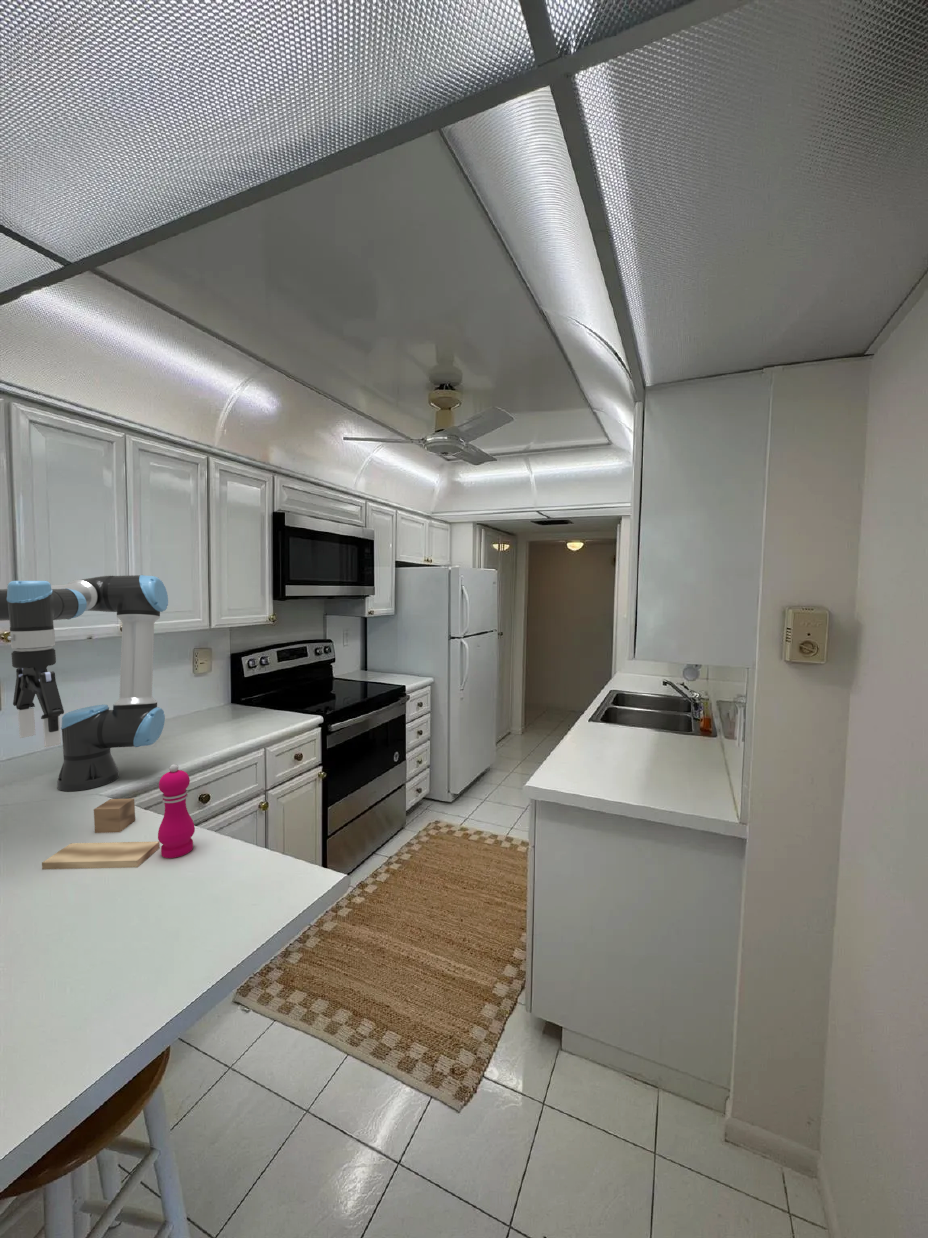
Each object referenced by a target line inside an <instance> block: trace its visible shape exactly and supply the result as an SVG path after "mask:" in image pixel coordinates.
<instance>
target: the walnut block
mask: <svg viewBox="0 0 928 1238" xmlns="http://www.w3.org/2000/svg"><path fill="white" fill-rule="evenodd" d="M135 806H136V805H135V798H134V797H133V798H109V799H108V800H106V801H105V802H103V803H101V804H99V805H98V806H97V807H95V808H94V809H93V821H94V822H93V823H94V833H95V834H102V833H103V834H104V833H105V834H108V833H110V834H111V833H122V832H123V831H124V830H125V829H126V828H128V827H130V825H132V824H133V823H135V822H136V807H135Z"/></svg>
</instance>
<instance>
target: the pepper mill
mask: <svg viewBox="0 0 928 1238" xmlns="http://www.w3.org/2000/svg"><path fill="white" fill-rule="evenodd" d="M168 769H169V770H168V772H166V773H164V774H163V775H162V776H161V777H160V779H159V782H158V788H159V791H160V792H161V793H162V795H161V798H162V799H161V801H162V803H164V814H163V818H162V820H161V823H160V824H159V827H158V832H157V840H158V841H159V843H160V844H161V846H160V856H161V857H162V858H164V859H174V858H180V857H182V856H185V855H187V854H188V853H190V852H191V851H192V850H193V849H194V840H193V839H192V837H193V836H194V835H195V831H196V828H195V823H194V820H193V819H192V817H191V815H190V813H189V812H188V808H187V798H188V796H189V795H188V793H189V792H188V790H187V788H189V786H190V783H191V780H190V779H191V778H190V776H189V774H188V773H187V772H186V771H184V770H181V769H179V766H178V765H177V764H171V765H170V766H169V768H168Z"/></svg>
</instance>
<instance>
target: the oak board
mask: <svg viewBox="0 0 928 1238" xmlns="http://www.w3.org/2000/svg"><path fill="white" fill-rule="evenodd" d="M160 844H161V843H160V842H159V840H158V841H124V842H123V841H121V842H120V841H115V842H77V843H76V842H72V843H69V844H68V845H66V846H65V847H63V848H61V850H58V851H57V852H55V853H54V854H53V855H51V856H50V857H48V858H47V859H45V860H44V861H43V862H41V868H42V870H66V869H67V870H70V869H71V870H72V869H73V870H75V869H76V870H78V869H110V868H111V869H114V868H115V869H116V868H117V869H121V868H126V869H127V868H138V867H140V866H141V865H142V864H143V863H145V861H147V860H148V859H149V858H150V857H151V856H152V855H153V854H155V852H157V851H158V850H160V849H161V846H160Z"/></svg>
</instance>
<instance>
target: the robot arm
mask: <svg viewBox="0 0 928 1238" xmlns="http://www.w3.org/2000/svg"><path fill="white" fill-rule="evenodd" d="M168 606H169V597H168V591H167V588H166V585H165V584H164V582H163V580H161V579H160V578H159V577H157V576H156V575H143V574H140V575H102V576H95V577H90V578H82V579H75V580H70V581H69V582H68V583H66V584H51V583H50V582H49V581H48V580H11V581H10V582H9V583H8V584H7V588H1V589H0V621H9V632H10V633H9V635H8V636H7V640H8V641H10V646H11V649H12V650H13V651H12V652H11V654H10V655H11V666H12V667H13V668H15V669H16V671H15V673H16V676H15V677H16V680H15V686H14V687H15V688H14V692H13V701H12V705H13V706H14V707H15V708H16V709H17V718H18V732H19V738H20V739H23V738H24V739H25V738H28V737H33V736H36V722H35V708H36V705H35V703H34V699H35V698H37V700H38V703H39V705H40V707H41V710H42V713H43V714H42V715H41V716H40V719H41V720H42V730H43V742H44V748H46V749H47V748H50V747H55V746H60V745H61V744H62V752H63V753H62V755H63V763H62V766H61V769H60V771H59V775H58V778H57V781H56V782H57V785H56V786H57V789H58V790H59V791H63V792H77V791H85V790H91V789H94V788H98V787H102V786H105V785H108V784H111V783H112V782H114V781H116V780H117V779H118V778H119V775H120V774H119V769H118V767H117V765H116V762H115V759H114V758H113V756H112V753H111V752H112V751H111V749H113V748H117V749H118V748H132V747H133V748H134V747H135V748H139V747H145V746H151V745H154V744H155V743H156V742H157V741H158V740H159V738H160V736H161V735H162V733H163V731H164V728H165V727H164V726H165V721H166V715H165V711H164V709H163V708H162V707H158V701H157V700H156V699H155V698H154V697H153V676H154V675H153V674H154V673H153V672H154V648H155V647H154V645H155V644H154V643H155V642H154V641H155V624H156V623H155V622H157V621H158V620H159V619H160V618H161V613H163V612H165V611H166V610H167V609H168ZM85 612H105V613H116V618H117V619H118V620H120V622H122V623H121V645H120V646H121V647H120V648H121V649H120V650H121V652H120V673H119V675H120V677H119V698H118V699H117V700H116V701H115V702H114V703H113V705H112V709H110V707H109V705H108V704H97V705H90V706H87V707H82V708H81V707H80V708H78V709H74V710H71V711H68V712H66V713H65V710H64V706H63V703H62V699H61V695H60V692H59V689H58V684H57V681H56V679H57V678H56V673H55V671H48V668H47V667H49V666H53V665H56V664H57V663H56V662H57V655H56V649H55V648H53V647H54V646H56V635H55V626H54V621H58V620H59V621H60V620H61V621H62V620H71V619H74V618H79V617H80V616H82V615H83V614H84V613H85ZM35 696H36V697H35ZM64 713H65V714H64ZM61 715H63V716H62V717H61V725H60V716H61ZM60 726H61V727H60ZM61 739H62V740H61Z"/></svg>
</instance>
